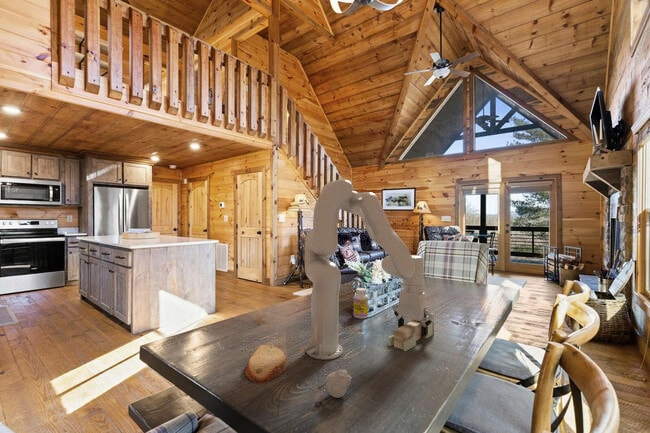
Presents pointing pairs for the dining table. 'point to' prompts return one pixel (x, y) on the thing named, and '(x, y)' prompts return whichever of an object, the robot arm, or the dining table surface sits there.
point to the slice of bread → (266, 364)
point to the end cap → (430, 327)
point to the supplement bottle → (361, 303)
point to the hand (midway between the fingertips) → (412, 332)
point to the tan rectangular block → (407, 333)
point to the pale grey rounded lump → (338, 383)
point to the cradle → (406, 344)
